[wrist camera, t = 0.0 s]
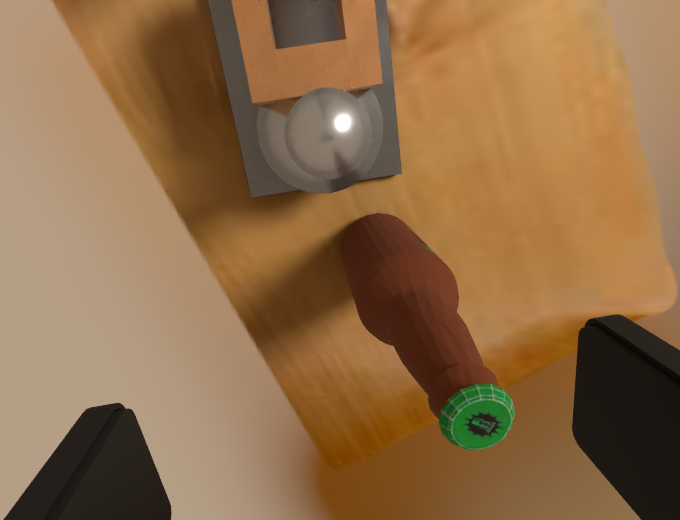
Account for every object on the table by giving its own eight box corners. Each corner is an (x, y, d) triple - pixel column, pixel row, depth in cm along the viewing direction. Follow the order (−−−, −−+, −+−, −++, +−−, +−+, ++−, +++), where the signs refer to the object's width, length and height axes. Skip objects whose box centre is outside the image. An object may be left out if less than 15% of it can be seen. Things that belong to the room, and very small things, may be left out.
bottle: (381, 293, 42) (482, 513, 19) (325, 254, 40) (360, 446, 17) (426, 239, 41) (599, 404, 17) (371, 196, 39) (480, 316, 15)
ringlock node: (200, -42, 31) (116, -176, 17) (377, -67, 32) (438, -215, 18) (252, 195, 38) (223, 242, 23) (399, 172, 38) (456, 203, 24)
